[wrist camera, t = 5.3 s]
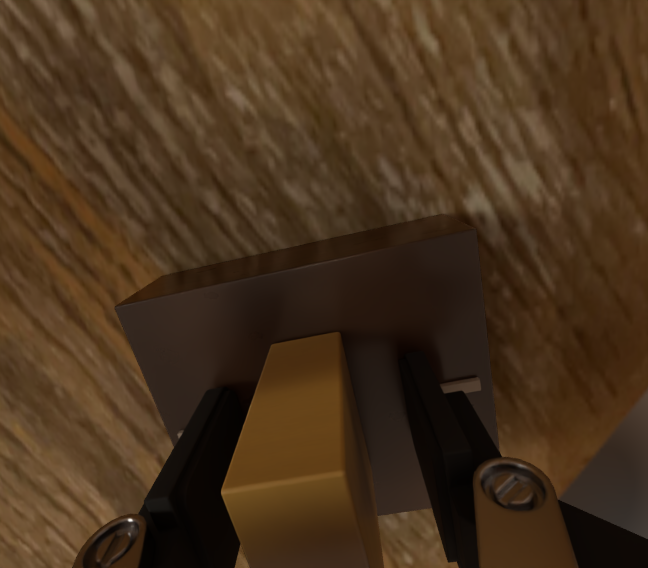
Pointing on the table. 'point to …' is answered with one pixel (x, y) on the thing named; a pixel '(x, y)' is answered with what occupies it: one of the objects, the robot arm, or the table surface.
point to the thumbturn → (304, 465)
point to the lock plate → (327, 331)
